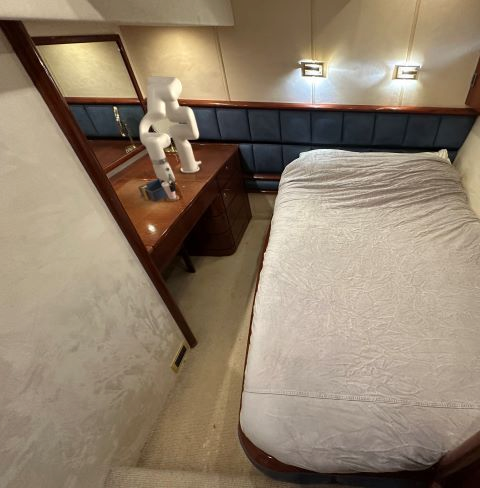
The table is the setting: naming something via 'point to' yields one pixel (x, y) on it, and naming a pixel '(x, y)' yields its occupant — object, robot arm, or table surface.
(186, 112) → the robot arm
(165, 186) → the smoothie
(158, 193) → the drawer
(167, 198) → the coaster
